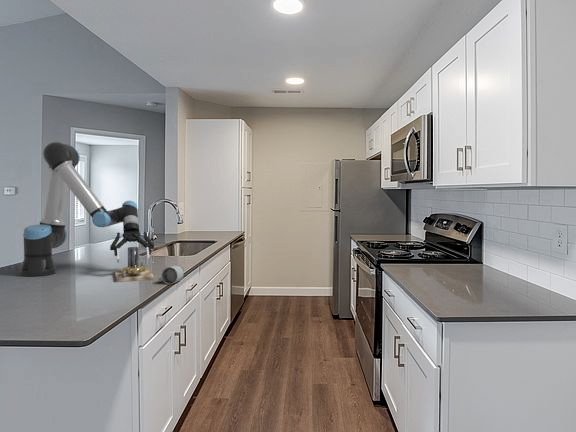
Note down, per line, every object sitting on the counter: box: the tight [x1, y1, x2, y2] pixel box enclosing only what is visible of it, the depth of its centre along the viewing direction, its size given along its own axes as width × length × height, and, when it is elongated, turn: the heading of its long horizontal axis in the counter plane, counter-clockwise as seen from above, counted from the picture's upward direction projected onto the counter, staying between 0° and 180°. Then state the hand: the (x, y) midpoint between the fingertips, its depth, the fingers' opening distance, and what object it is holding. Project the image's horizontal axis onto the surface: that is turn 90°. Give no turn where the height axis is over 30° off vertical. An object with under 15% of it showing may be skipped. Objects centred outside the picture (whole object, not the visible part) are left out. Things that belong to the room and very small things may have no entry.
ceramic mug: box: [157, 265, 184, 285], centre depth 192 cm, size 11×8×8 cm
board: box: [114, 262, 155, 283], centre depth 205 cm, size 16×25×4 cm, turn 24°
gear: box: [122, 265, 147, 276], centre depth 199 cm, size 10×10×5 cm
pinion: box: [127, 246, 140, 267], centre depth 207 cm, size 5×5×12 cm
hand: (133, 260), depth 205 cm, fingers open, 13 cm apart
